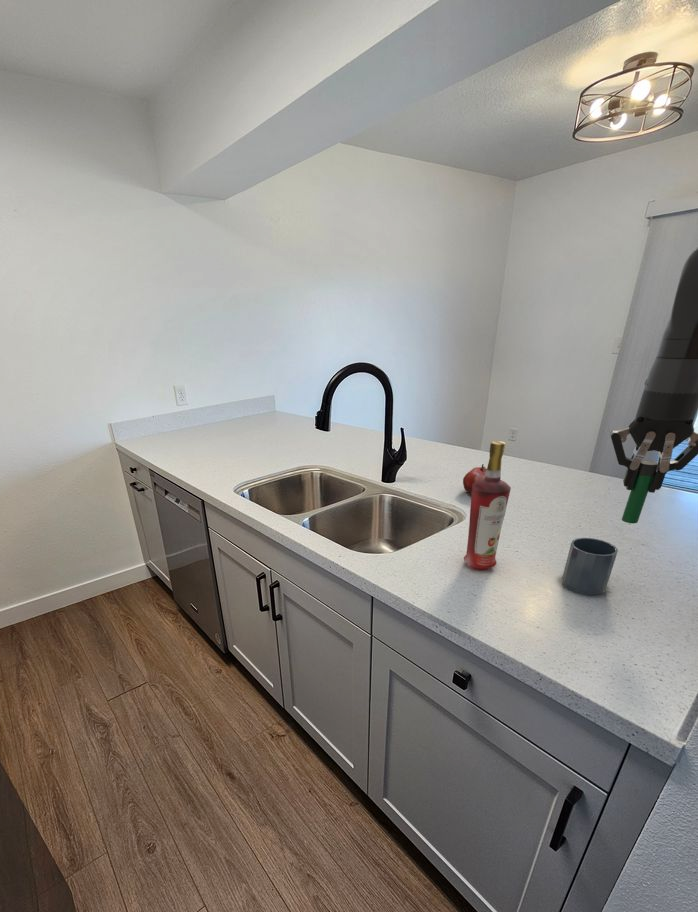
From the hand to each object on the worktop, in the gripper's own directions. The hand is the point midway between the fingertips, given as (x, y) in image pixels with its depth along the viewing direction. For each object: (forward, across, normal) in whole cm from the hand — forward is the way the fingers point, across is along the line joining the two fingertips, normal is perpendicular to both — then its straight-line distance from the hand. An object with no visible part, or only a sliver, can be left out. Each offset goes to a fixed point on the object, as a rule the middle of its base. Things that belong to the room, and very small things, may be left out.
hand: (640, 489), depth 77 cm
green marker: (+6, 0, 0) cm, 6 cm away
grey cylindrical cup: (+22, -4, +1) cm, 22 cm away
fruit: (+22, -31, +48) cm, 61 cm away
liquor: (+22, -24, +1) cm, 33 cm away
